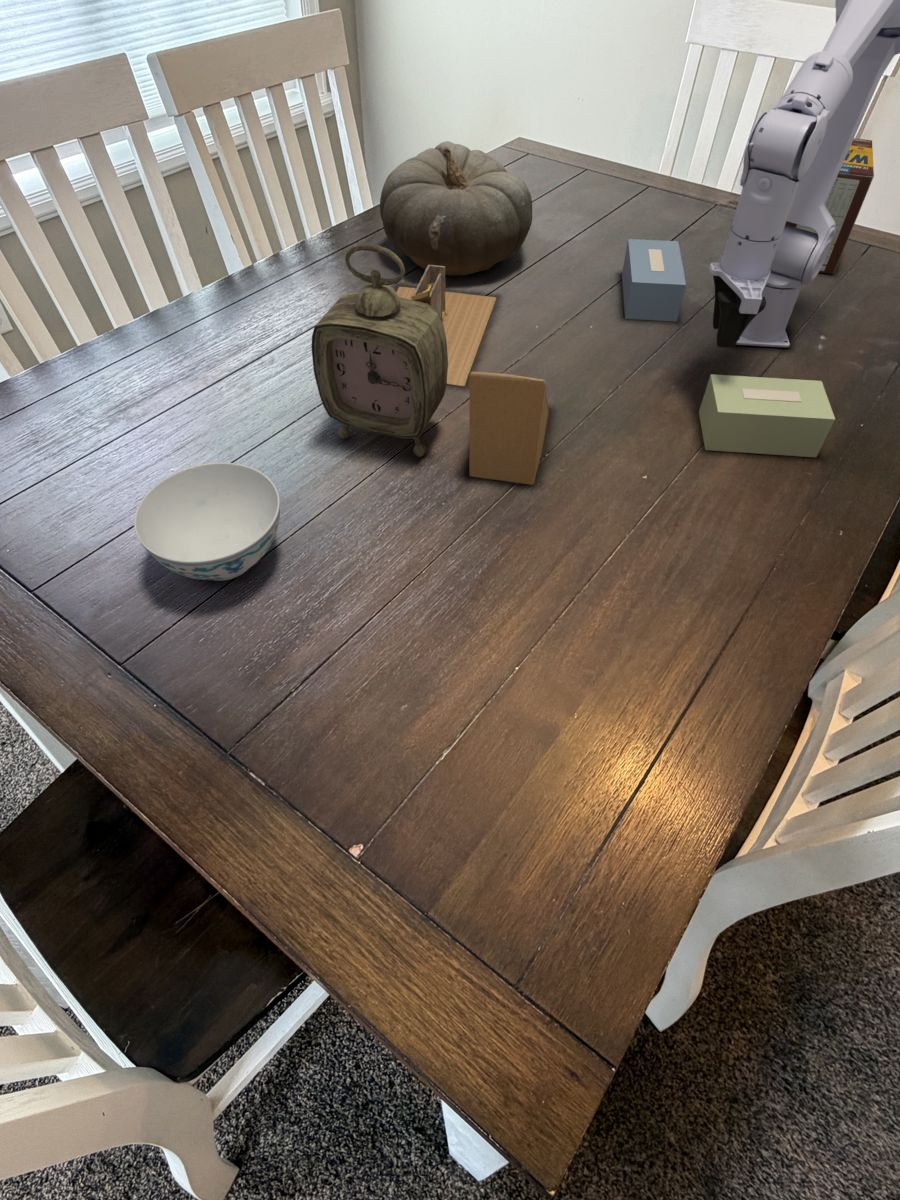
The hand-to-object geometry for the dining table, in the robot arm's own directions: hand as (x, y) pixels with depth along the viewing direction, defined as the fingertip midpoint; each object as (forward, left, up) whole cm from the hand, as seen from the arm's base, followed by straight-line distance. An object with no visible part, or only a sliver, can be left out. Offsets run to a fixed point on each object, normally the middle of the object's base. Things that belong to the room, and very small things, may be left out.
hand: (722, 336), depth 96 cm
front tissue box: (+9, +6, -8) cm, 13 cm away
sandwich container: (+14, -26, -9) cm, 31 cm away
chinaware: (+38, -58, -9) cm, 69 cm away
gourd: (-36, -38, -9) cm, 53 cm away
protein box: (-44, +22, -9) cm, 50 cm away
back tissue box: (-25, -6, -8) cm, 27 cm away
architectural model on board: (-11, -40, -9) cm, 43 cm away
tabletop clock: (+14, -42, -9) cm, 46 cm away
